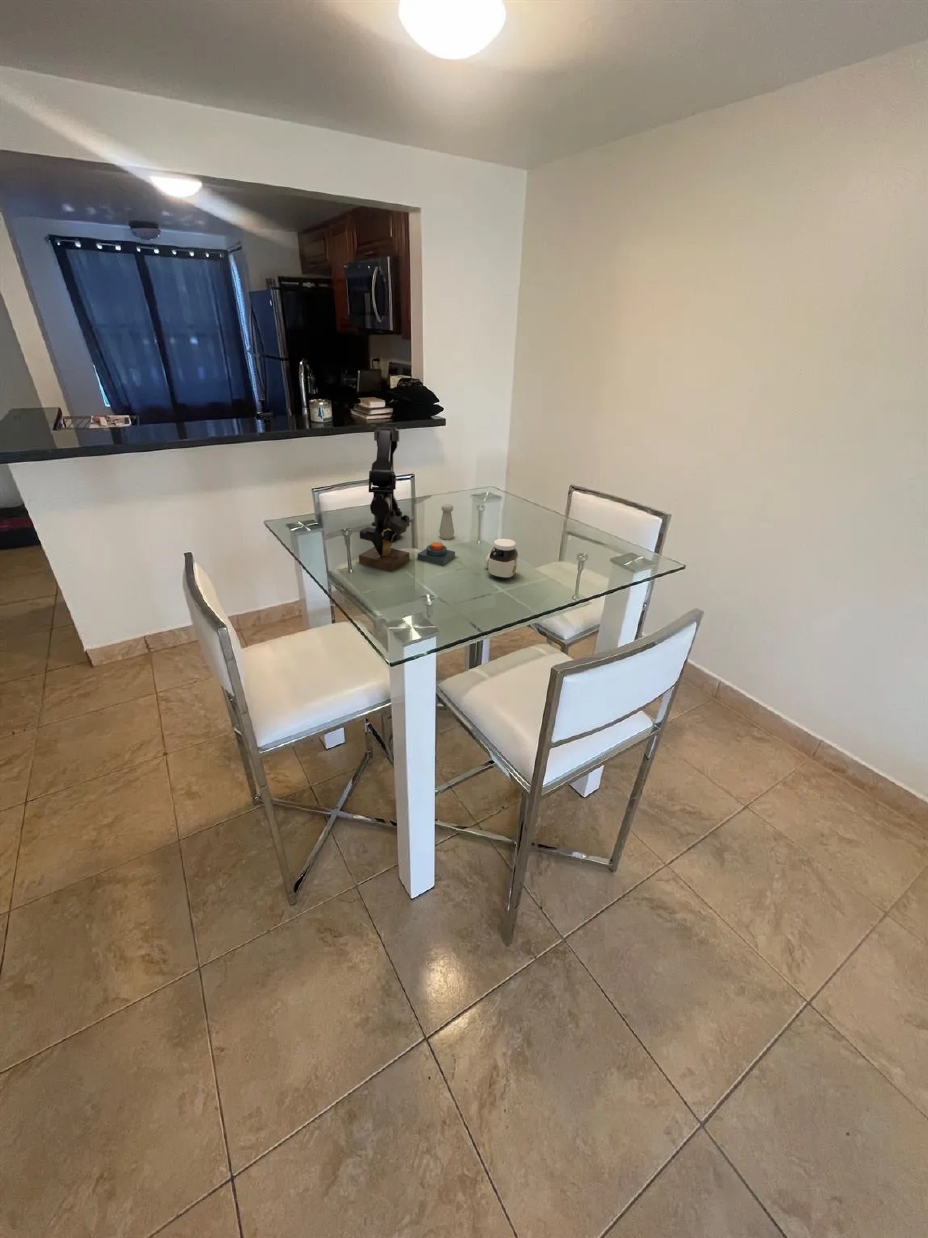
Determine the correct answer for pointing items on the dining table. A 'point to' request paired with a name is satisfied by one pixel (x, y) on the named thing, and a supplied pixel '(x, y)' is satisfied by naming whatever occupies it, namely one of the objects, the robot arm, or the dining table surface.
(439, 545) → the button
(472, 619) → the dining table surface
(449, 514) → the salt shaker
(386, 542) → the dial
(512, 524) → the dining table surface
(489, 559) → the spread jar
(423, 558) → the button housing
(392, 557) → the dial panel
